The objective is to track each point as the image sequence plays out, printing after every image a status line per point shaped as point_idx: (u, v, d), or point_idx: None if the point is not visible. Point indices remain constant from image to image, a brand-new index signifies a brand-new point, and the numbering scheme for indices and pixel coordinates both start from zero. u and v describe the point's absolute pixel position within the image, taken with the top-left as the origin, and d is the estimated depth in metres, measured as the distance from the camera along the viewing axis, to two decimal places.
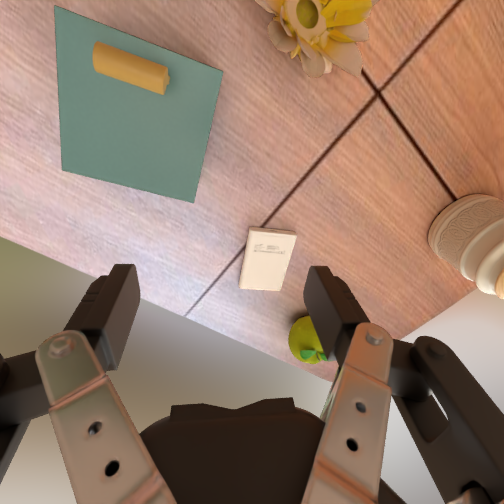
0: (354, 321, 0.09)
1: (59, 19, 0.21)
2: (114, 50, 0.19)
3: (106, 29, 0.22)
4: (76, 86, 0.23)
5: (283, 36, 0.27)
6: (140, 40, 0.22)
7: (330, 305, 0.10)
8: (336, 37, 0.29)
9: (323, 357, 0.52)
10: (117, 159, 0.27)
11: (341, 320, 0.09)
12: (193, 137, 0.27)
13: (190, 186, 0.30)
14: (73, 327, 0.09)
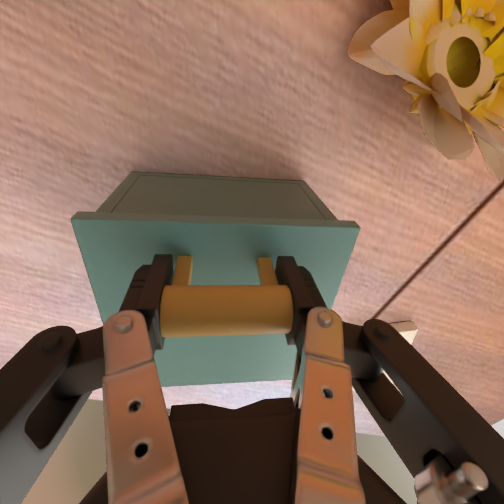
0: (309, 306, 0.10)
1: (83, 235, 0.12)
2: (197, 305, 0.10)
3: (161, 226, 0.12)
4: None
5: (434, 118, 0.15)
6: (218, 225, 0.12)
7: None
8: None
9: None
10: (197, 363, 0.18)
11: (296, 305, 0.10)
12: None
13: None
14: (127, 309, 0.09)
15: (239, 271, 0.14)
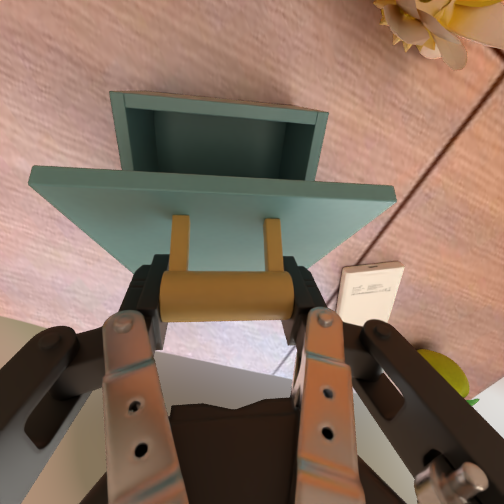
0: (309, 306, 0.10)
1: (52, 197, 0.10)
2: (196, 307, 0.10)
3: (147, 194, 0.10)
4: (124, 240, 0.14)
5: (399, 24, 0.18)
6: (220, 195, 0.10)
7: None
8: (468, 2, 0.19)
9: None
10: (199, 268, 0.20)
11: (296, 305, 0.10)
12: (309, 251, 0.16)
13: None
14: (127, 309, 0.09)
15: (243, 226, 0.12)
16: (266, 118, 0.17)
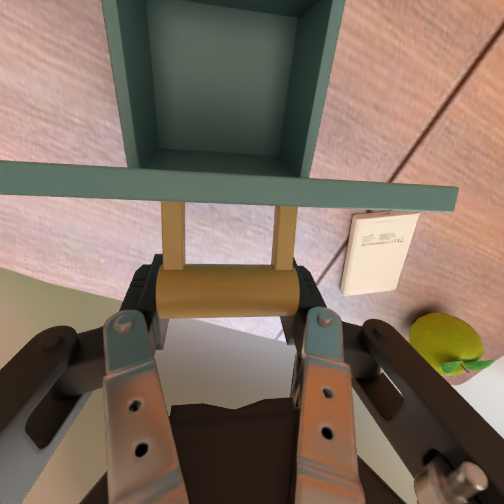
0: (308, 305, 0.10)
1: None
2: (196, 314, 0.09)
3: None
4: None
5: None
6: (222, 203, 0.07)
7: None
8: None
9: (470, 366, 0.39)
10: None
11: None
12: None
13: None
14: (128, 309, 0.09)
15: None
16: None
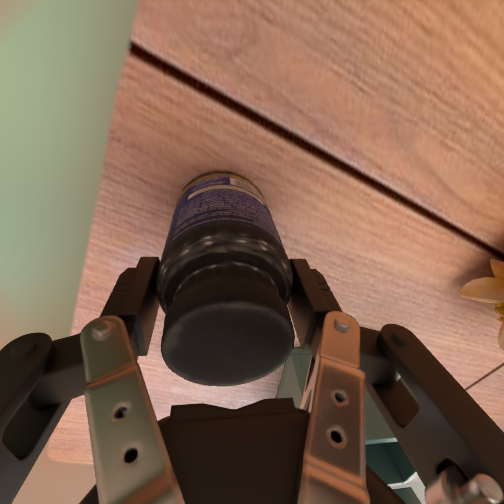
0: (325, 310, 0.10)
1: None
2: None
3: None
4: None
5: None
6: None
7: (304, 295, 0.11)
8: None
9: None
10: None
11: (312, 309, 0.10)
12: None
13: None
14: (109, 314, 0.09)
15: None
16: None
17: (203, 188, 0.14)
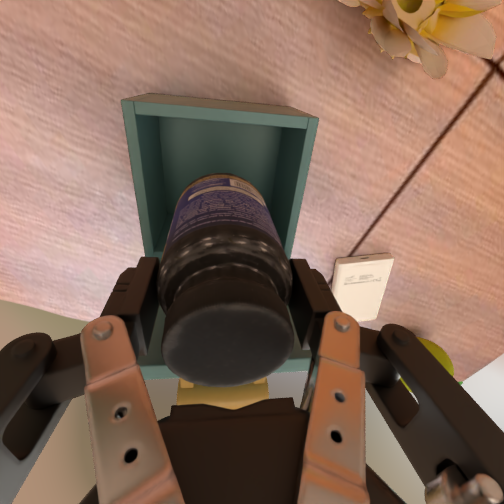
0: (325, 310, 0.10)
1: None
2: None
3: None
4: None
5: (385, 34, 0.20)
6: None
7: (304, 295, 0.11)
8: (451, 13, 0.21)
9: None
10: None
11: (312, 309, 0.10)
12: None
13: None
14: (109, 314, 0.09)
15: None
16: (262, 123, 0.19)
17: (203, 189, 0.14)
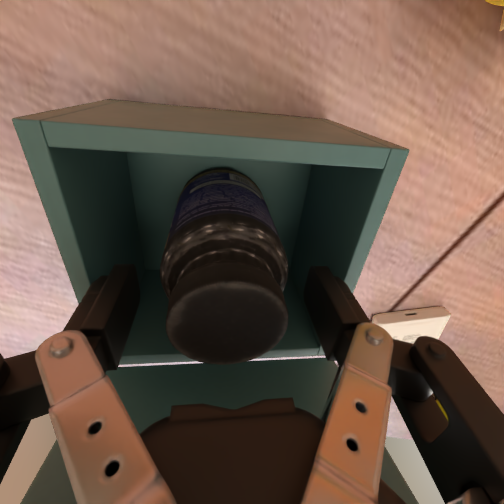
0: (354, 321, 0.09)
1: None
2: None
3: None
4: None
5: None
6: None
7: (330, 305, 0.10)
8: None
9: None
10: None
11: (341, 320, 0.09)
12: None
13: None
14: (74, 327, 0.09)
15: None
16: (302, 160, 0.10)
17: (204, 183, 0.15)
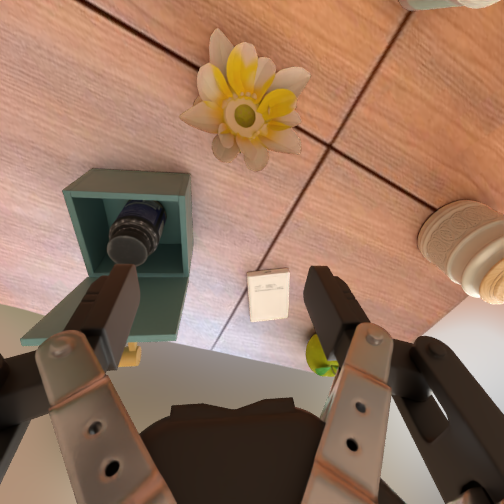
0: (354, 321, 0.09)
1: None
2: None
3: None
4: None
5: None
6: None
7: (330, 305, 0.10)
8: (274, 126, 0.34)
9: None
10: None
11: (341, 320, 0.09)
12: None
13: None
14: (74, 327, 0.09)
15: None
16: (149, 199, 0.32)
17: (131, 203, 0.37)
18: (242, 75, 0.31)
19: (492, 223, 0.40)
